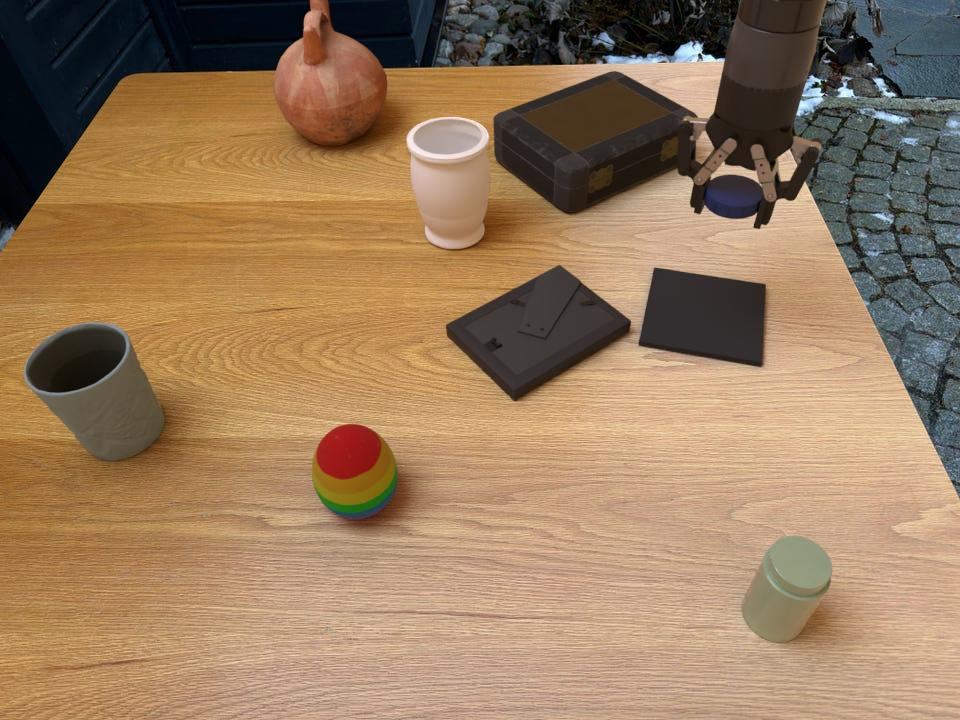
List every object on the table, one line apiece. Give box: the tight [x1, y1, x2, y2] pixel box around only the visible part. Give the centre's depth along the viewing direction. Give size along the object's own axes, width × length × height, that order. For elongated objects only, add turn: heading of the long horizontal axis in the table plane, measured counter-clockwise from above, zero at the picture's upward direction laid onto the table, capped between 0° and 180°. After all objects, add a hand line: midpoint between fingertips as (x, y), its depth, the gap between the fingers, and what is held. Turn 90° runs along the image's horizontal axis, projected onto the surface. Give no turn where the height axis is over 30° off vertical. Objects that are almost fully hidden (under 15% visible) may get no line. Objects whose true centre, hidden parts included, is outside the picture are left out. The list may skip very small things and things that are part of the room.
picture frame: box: [445, 264, 632, 402], centre depth 90 cm, size 13×2×18 cm
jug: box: [272, 0, 388, 147], centre depth 119 cm, size 18×18×20 cm
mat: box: [638, 267, 767, 368], centre depth 91 cm, size 14×14×1 cm
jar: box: [406, 116, 492, 250], centre depth 100 cm, size 11×10×15 cm
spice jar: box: [741, 535, 833, 643], centre depth 62 cm, size 5×5×9 cm
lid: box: [704, 174, 764, 220], centre depth 79 cm, size 6×6×2 cm
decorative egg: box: [311, 423, 399, 520], centre depth 72 cm, size 8×8×10 cm
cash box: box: [493, 70, 699, 213], centre depth 114 cm, size 25×20×8 cm
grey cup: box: [23, 321, 165, 462], centre depth 78 cm, size 10×10×12 cm
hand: (728, 216), depth 81 cm, fingers closed on lid, 5 cm apart
